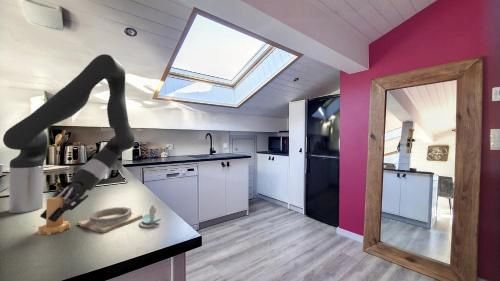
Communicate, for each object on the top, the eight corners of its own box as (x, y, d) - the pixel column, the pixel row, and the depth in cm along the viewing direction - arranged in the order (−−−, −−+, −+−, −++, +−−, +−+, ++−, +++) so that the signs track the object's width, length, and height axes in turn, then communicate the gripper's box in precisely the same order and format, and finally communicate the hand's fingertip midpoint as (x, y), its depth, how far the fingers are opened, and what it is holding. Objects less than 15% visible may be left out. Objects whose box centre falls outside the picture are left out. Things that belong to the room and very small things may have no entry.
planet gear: (32, 232, 64) (33, 199, 64) (62, 223, 71) (63, 194, 71) (45, 237, 61) (46, 203, 61) (75, 227, 68) (76, 197, 68)
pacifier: (146, 230, 67) (163, 224, 72) (146, 211, 67) (163, 206, 72) (135, 225, 72) (151, 219, 76) (135, 207, 71) (151, 202, 76)
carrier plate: (76, 224, 70) (76, 216, 70) (117, 211, 83) (117, 204, 83) (103, 233, 64) (103, 223, 64) (142, 217, 77) (142, 209, 77)
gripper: (70, 166, 76) (23, 209, 64) (95, 169, 70) (48, 217, 59) (86, 178, 80) (45, 220, 69) (110, 182, 75) (70, 228, 64)
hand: (47, 219), depth 64 cm, fingers closed on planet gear, 4 cm apart
